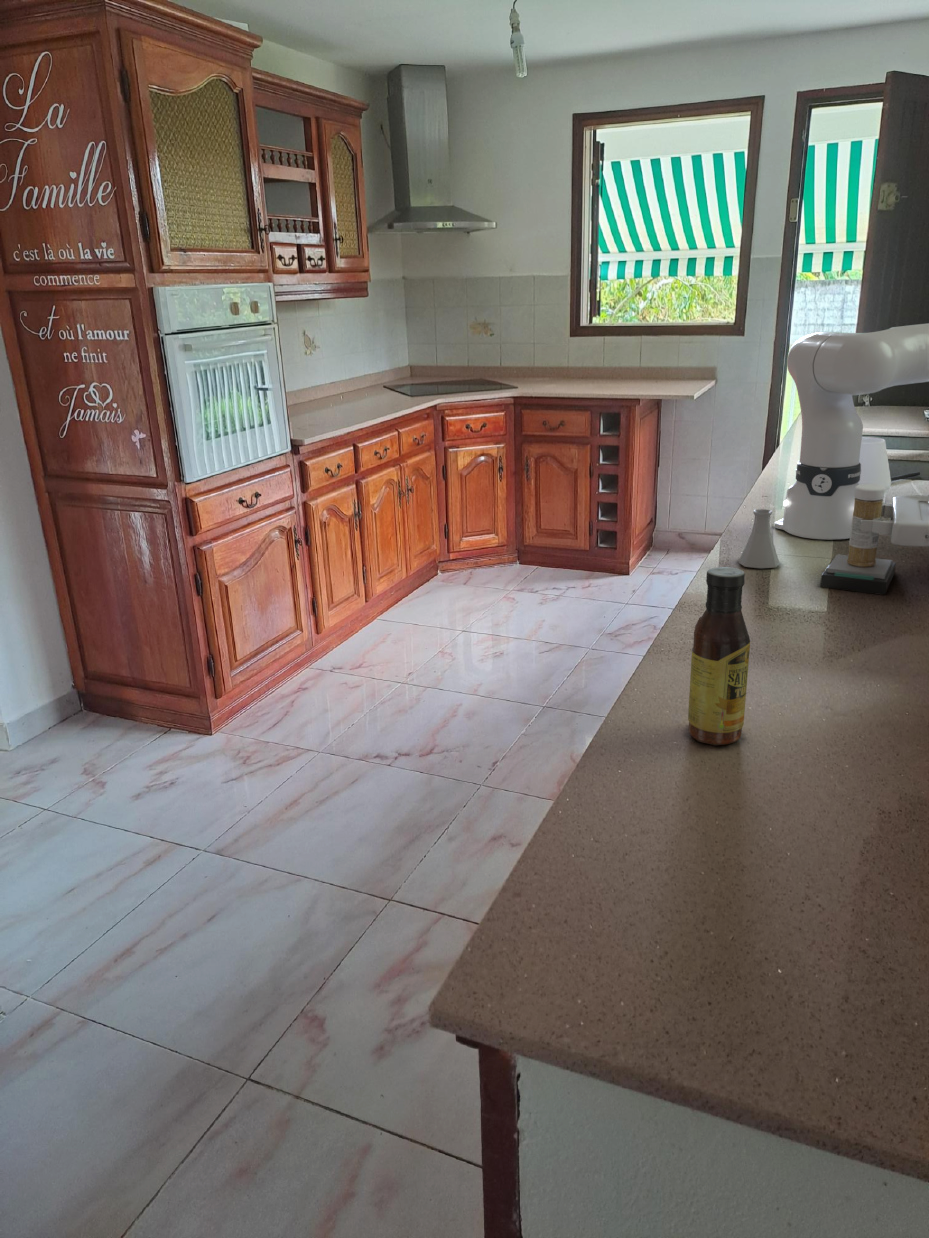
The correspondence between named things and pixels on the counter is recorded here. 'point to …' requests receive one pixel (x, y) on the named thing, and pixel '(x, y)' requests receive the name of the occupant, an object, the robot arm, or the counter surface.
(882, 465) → the cup
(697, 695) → the sauce bottle
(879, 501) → the sprinkles bottle
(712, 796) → the counter surface
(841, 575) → the scale
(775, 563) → the flask
